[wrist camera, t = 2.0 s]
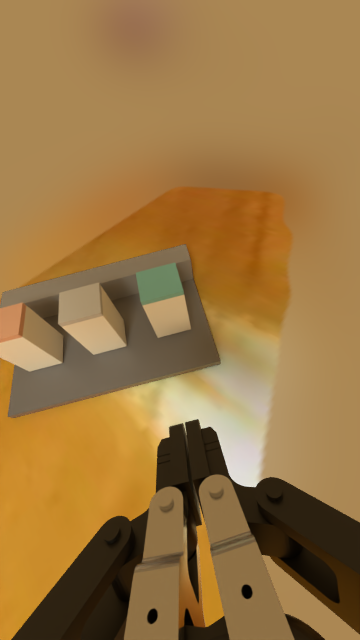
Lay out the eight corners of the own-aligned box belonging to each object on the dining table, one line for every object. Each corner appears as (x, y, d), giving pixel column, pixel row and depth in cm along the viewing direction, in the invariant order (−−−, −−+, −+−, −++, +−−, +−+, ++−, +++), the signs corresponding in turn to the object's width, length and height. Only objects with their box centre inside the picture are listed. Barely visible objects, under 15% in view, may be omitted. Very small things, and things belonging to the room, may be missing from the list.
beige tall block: (93, 354, 32) (58, 324, 25) (92, 328, 34) (59, 292, 27) (126, 346, 32) (100, 312, 25) (123, 320, 34) (98, 282, 27)
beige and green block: (157, 337, 32) (140, 302, 25) (152, 312, 34) (135, 272, 27) (191, 329, 32) (183, 291, 25) (184, 304, 34) (175, 262, 27)
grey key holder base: (13, 418, 30) (-21, 410, 26) (26, 311, 38) (2, 292, 34) (220, 363, 30) (220, 347, 26) (189, 268, 38) (185, 244, 34)
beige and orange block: (29, 371, 32) (-25, 345, 25) (32, 344, 34) (-17, 312, 27) (62, 362, 32) (18, 334, 25) (63, 335, 34) (22, 302, 27)
